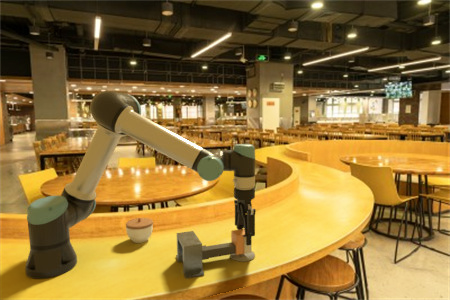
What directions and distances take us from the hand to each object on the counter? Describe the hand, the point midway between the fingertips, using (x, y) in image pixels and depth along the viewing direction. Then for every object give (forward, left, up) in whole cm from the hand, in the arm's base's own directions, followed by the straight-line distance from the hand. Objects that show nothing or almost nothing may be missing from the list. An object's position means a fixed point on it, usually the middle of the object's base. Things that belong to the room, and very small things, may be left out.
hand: (244, 249), depth 109 cm
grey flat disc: (0, -1, -2) cm, 2 cm away
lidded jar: (-28, -35, -3) cm, 45 cm away
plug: (0, -8, 0) cm, 8 cm away
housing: (0, -21, -2) cm, 21 cm away
